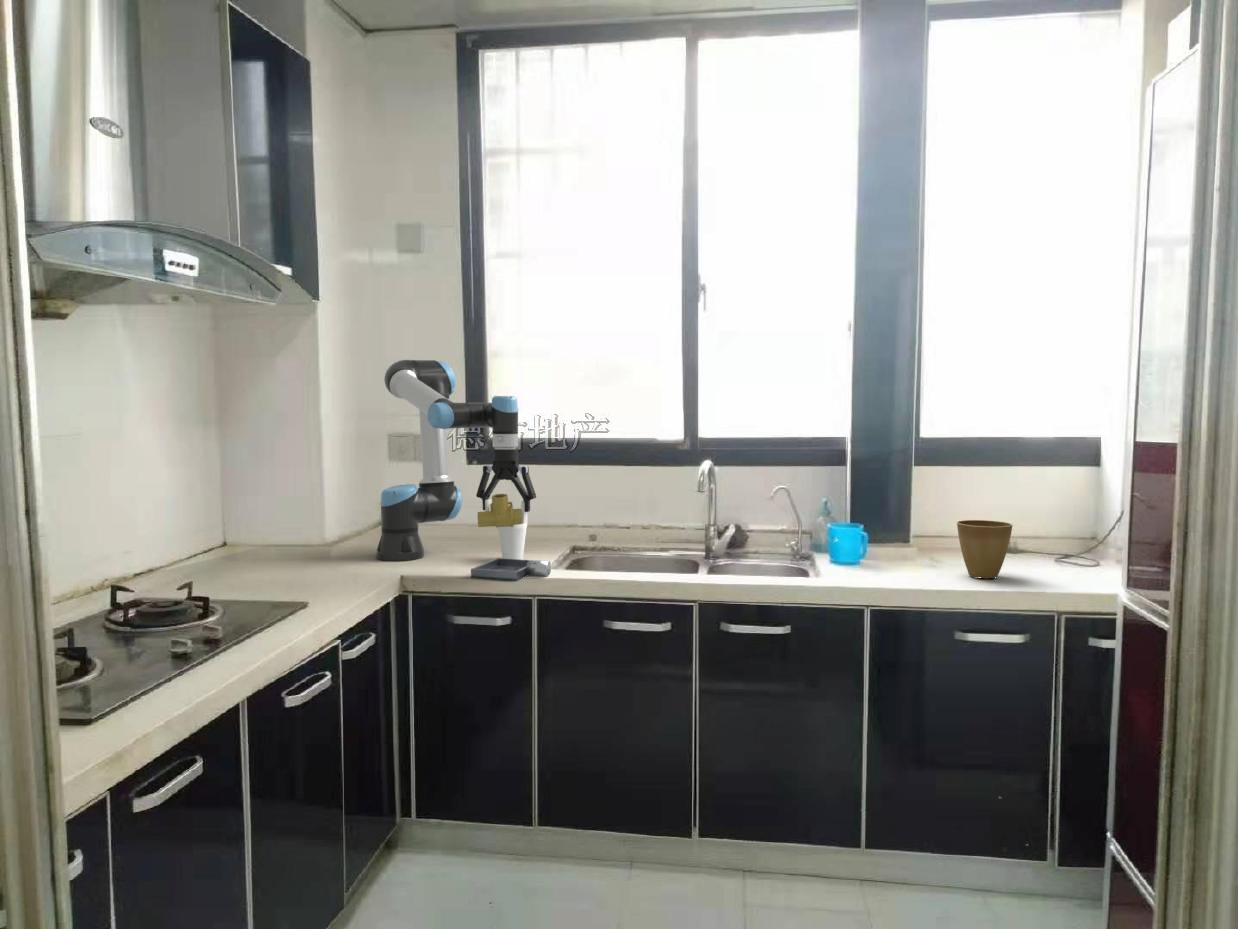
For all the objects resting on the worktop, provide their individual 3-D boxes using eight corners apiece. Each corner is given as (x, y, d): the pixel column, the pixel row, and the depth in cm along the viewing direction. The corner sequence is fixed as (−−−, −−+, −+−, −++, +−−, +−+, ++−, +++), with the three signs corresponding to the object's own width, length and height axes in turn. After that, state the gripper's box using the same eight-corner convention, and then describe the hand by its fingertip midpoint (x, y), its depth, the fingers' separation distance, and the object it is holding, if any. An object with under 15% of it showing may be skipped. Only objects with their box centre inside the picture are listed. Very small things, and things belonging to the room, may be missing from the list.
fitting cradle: (471, 577, 243) (470, 562, 243) (497, 565, 260) (497, 552, 260) (536, 582, 237) (536, 567, 237) (559, 570, 254) (559, 555, 254)
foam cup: (530, 561, 267) (530, 521, 266) (502, 563, 264) (501, 522, 263) (522, 556, 276) (522, 517, 275) (495, 558, 273) (494, 518, 272)
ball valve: (522, 530, 243) (522, 521, 253) (519, 496, 241) (520, 488, 251) (478, 534, 242) (480, 524, 252) (475, 499, 240) (477, 491, 250)
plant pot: (1018, 577, 245) (1020, 522, 244) (998, 585, 234) (1000, 528, 233) (967, 569, 255) (969, 517, 254) (946, 576, 245) (948, 522, 244)
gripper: (463, 448, 246) (464, 522, 248) (537, 449, 239) (537, 525, 241) (475, 447, 253) (476, 518, 255) (547, 448, 246) (547, 522, 248)
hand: (506, 522), depth 248 cm, fingers closed on ball valve, 11 cm apart
